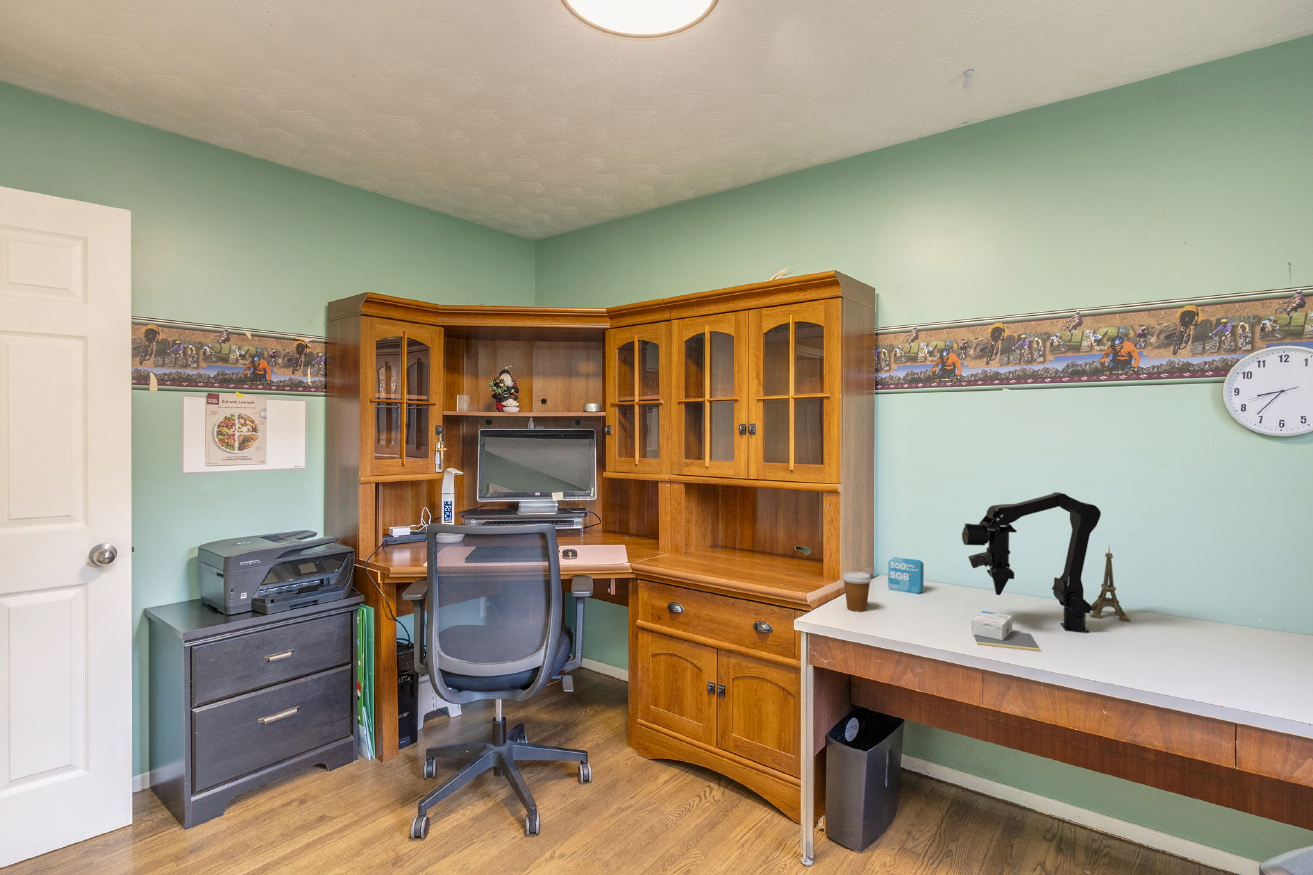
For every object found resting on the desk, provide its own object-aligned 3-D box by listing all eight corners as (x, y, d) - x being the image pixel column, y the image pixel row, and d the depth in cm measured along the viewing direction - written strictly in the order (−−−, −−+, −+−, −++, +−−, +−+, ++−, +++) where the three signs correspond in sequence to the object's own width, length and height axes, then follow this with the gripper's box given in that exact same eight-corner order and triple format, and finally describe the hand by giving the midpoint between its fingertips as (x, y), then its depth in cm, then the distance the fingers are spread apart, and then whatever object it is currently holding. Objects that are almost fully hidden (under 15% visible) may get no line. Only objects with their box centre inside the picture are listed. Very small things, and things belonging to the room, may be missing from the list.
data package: (887, 589, 248) (888, 558, 248) (891, 587, 252) (891, 556, 251) (920, 594, 241) (920, 562, 241) (923, 591, 245) (923, 560, 244)
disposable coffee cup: (851, 614, 216) (851, 578, 216) (837, 606, 226) (837, 572, 225) (876, 612, 219) (877, 577, 218) (861, 604, 228) (861, 570, 227)
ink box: (982, 626, 203) (971, 634, 194) (982, 610, 203) (971, 618, 194) (1012, 631, 197) (1002, 641, 188) (1012, 615, 197) (1003, 624, 188)
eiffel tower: (1086, 609, 222) (1087, 537, 221) (1123, 613, 217) (1125, 539, 216) (1091, 617, 212) (1093, 542, 212) (1130, 622, 208) (1132, 545, 207)
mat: (971, 628, 201) (971, 627, 201) (1030, 634, 195) (1030, 633, 195) (977, 644, 187) (977, 642, 187) (1040, 651, 181) (1040, 649, 181)
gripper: (967, 539, 215) (966, 585, 215) (973, 549, 197) (973, 600, 198) (1004, 541, 211) (1004, 588, 211) (1014, 552, 193) (1014, 603, 194)
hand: (998, 594), depth 204 cm, fingers closed
